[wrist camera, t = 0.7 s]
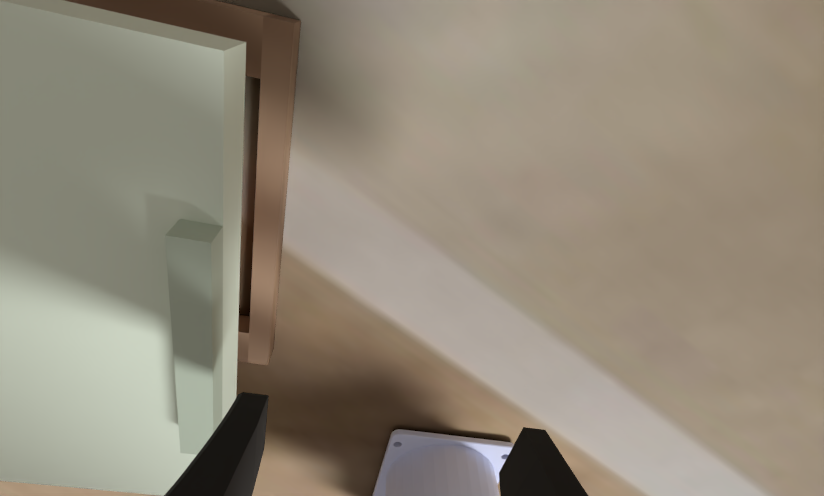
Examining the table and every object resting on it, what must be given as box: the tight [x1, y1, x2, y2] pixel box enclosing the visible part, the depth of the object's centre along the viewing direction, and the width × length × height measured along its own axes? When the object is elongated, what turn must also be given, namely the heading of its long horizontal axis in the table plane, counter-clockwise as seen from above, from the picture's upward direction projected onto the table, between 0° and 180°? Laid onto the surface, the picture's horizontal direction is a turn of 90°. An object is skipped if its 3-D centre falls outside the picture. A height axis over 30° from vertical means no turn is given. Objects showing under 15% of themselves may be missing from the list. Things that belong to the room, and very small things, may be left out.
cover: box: [0, 0, 246, 496], centre depth 12 cm, size 16×10×2 cm, turn 167°
